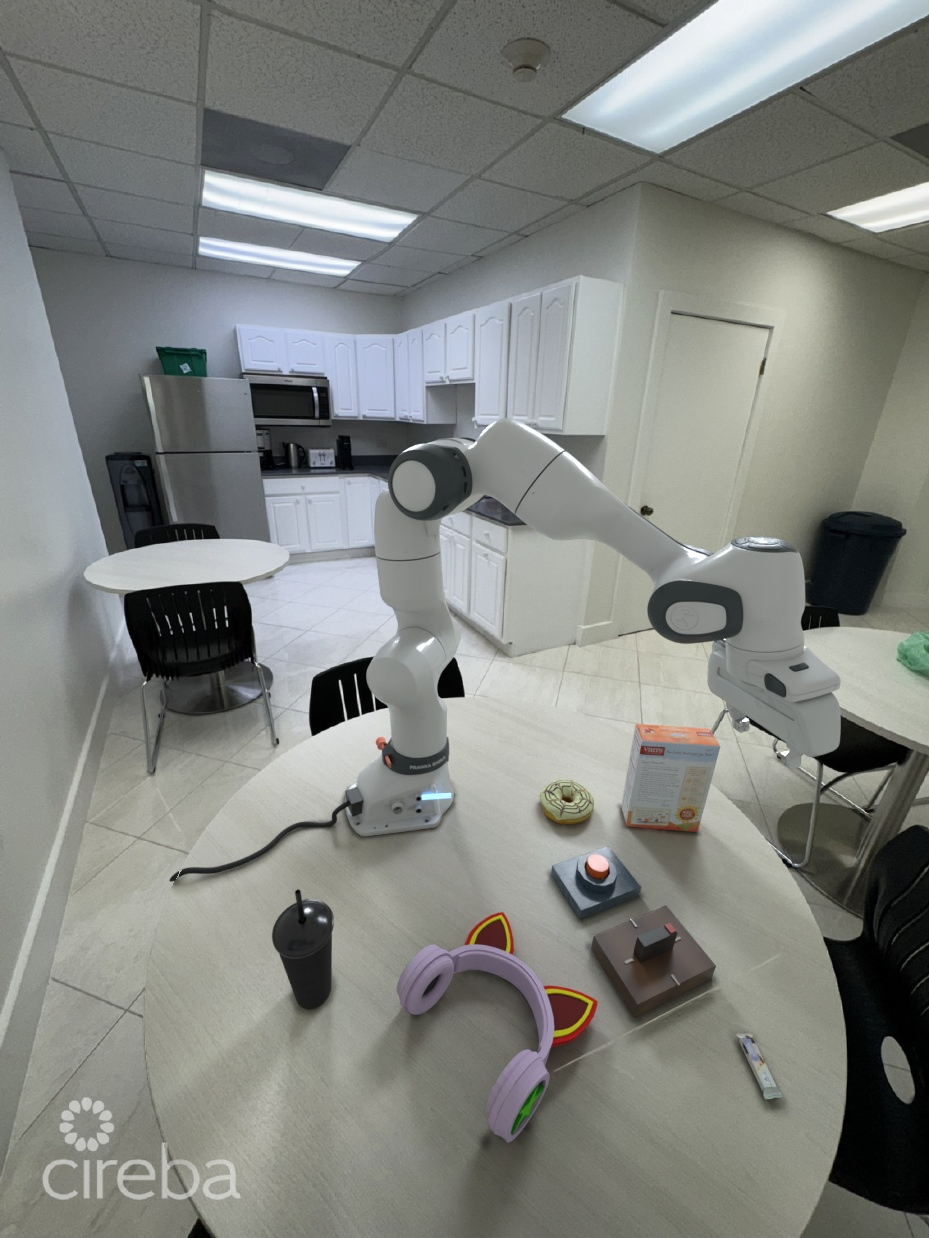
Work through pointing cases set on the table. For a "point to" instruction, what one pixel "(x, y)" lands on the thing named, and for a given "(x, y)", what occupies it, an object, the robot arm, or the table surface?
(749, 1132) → the table surface
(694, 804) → the cracker box
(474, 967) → the headphones
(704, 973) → the panel
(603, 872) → the button
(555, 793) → the decorated donut
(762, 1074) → the granola bar
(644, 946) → the handle
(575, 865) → the button box
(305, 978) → the drinking cup
